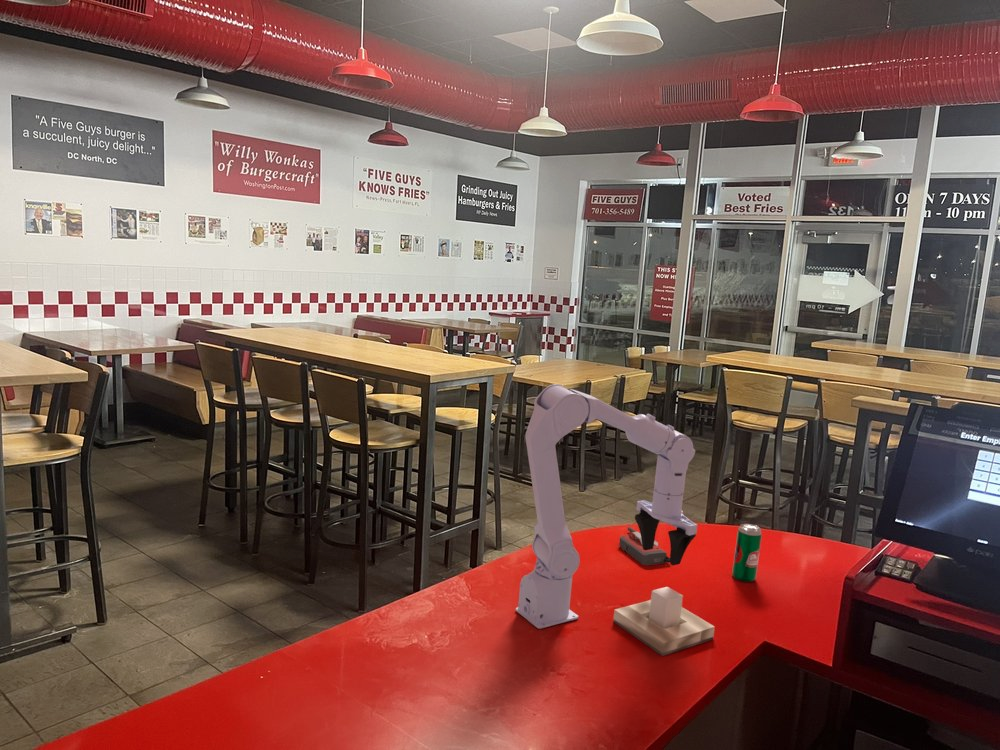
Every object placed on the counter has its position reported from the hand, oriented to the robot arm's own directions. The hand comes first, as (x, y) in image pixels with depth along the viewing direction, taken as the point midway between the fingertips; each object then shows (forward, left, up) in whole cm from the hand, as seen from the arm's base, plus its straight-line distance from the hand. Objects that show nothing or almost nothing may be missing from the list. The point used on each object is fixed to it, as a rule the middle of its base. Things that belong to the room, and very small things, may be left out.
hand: (661, 556), depth 143 cm
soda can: (+28, +1, -11) cm, 30 cm away
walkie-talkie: (+17, +23, -11) cm, 31 cm away
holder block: (-6, -8, -10) cm, 14 cm away
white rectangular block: (-6, -8, -10) cm, 14 cm away
